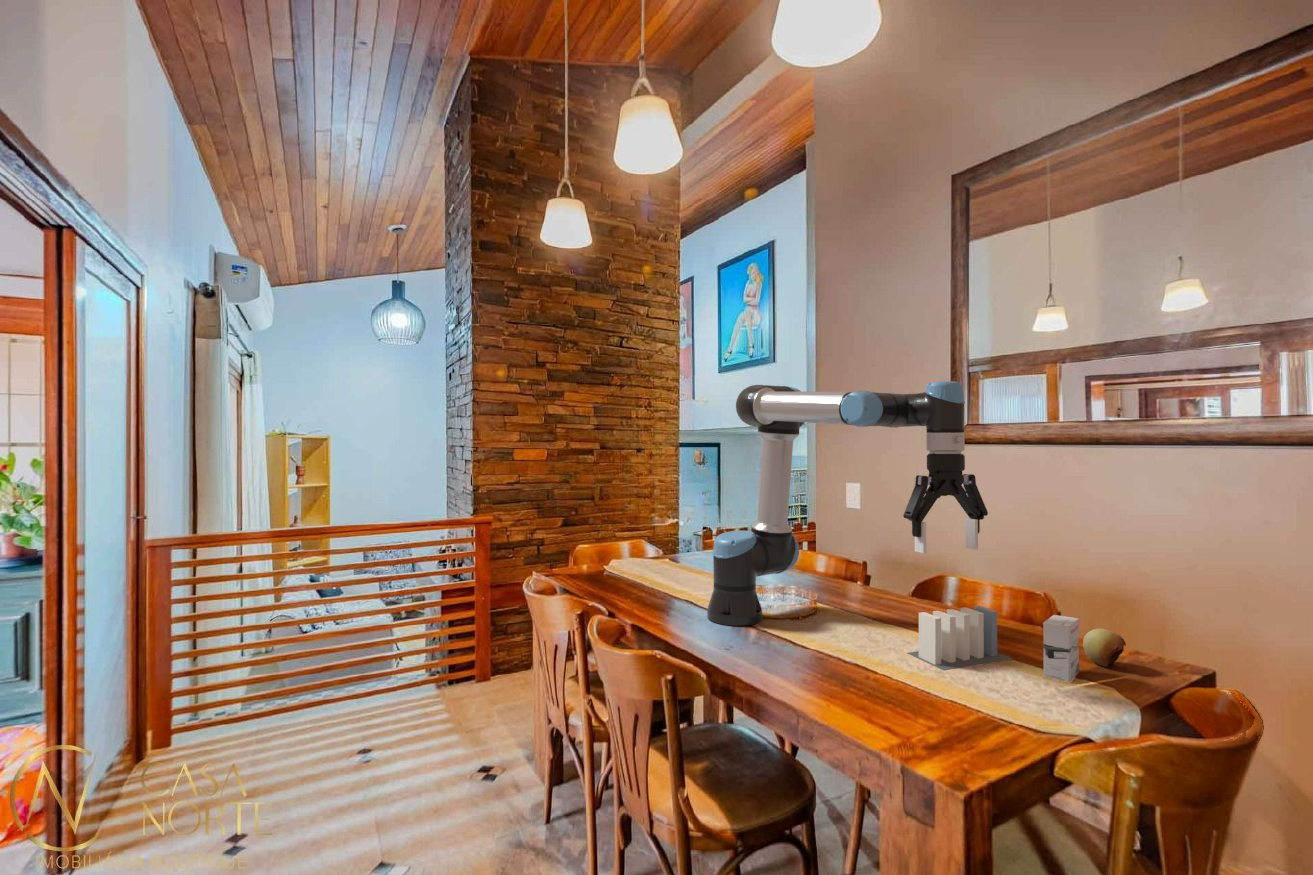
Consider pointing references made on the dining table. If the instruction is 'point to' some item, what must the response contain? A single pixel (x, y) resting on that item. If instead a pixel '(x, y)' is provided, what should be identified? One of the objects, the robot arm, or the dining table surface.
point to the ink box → (1061, 648)
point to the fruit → (1103, 646)
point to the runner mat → (966, 661)
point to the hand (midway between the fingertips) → (946, 550)
